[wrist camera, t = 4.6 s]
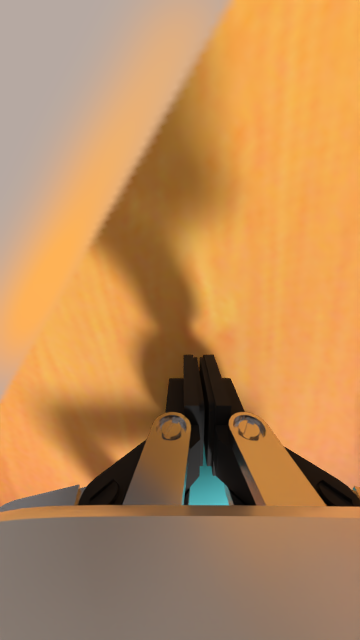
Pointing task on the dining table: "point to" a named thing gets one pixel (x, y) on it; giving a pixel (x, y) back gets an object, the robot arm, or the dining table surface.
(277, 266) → the dining table surface
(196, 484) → the ball
